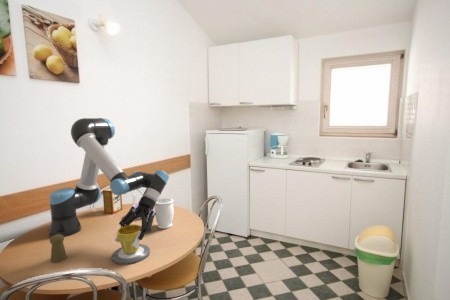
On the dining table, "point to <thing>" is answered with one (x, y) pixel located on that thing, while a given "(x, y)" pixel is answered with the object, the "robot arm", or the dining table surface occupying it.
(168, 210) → the jar
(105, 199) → the baking soda box
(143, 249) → the base
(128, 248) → the plant pot
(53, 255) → the cork
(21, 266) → the dining table surface
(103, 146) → the robot arm
